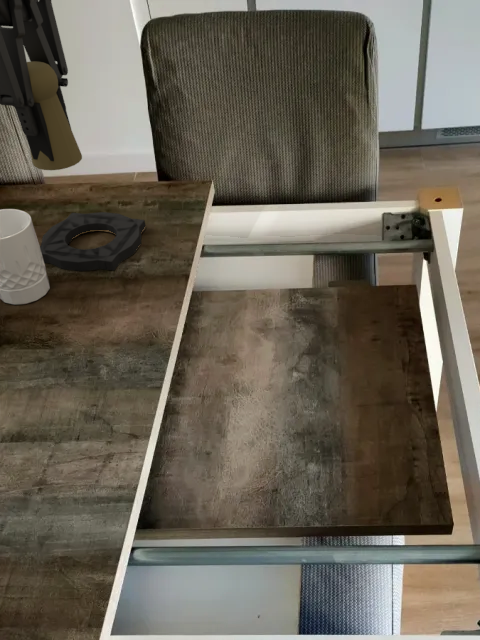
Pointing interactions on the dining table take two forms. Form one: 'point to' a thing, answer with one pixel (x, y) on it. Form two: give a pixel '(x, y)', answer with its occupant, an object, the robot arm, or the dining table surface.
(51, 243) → the base pad
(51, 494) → the dining table surface
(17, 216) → the white cup
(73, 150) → the olive pawn
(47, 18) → the robot arm
